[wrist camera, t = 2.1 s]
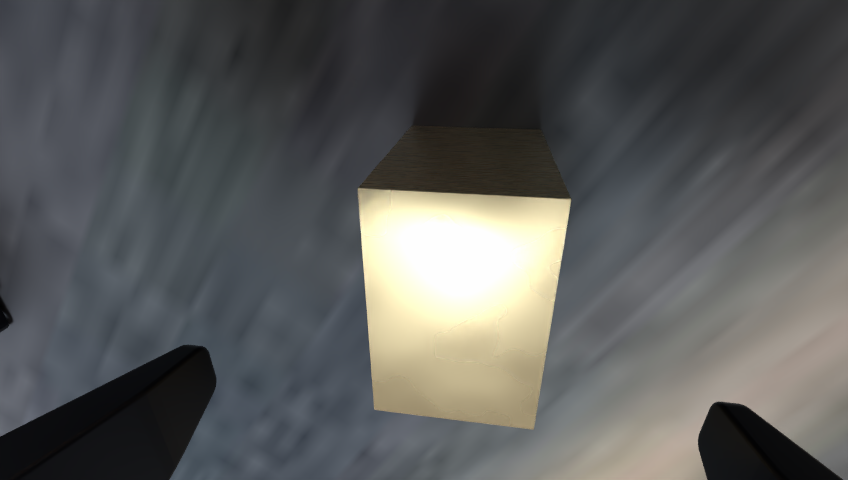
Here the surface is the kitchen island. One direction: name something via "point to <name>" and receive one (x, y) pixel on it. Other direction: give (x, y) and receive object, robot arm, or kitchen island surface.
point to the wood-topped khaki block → (462, 272)
